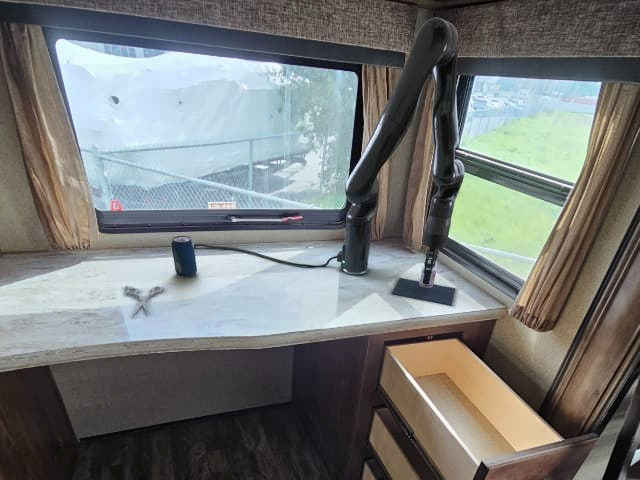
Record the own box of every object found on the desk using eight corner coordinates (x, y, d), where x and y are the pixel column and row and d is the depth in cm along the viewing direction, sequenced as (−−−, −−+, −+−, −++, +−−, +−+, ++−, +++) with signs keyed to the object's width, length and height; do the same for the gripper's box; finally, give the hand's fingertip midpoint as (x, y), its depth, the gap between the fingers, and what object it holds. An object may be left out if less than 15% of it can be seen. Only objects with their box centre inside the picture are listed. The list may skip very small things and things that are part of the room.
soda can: (199, 270, 149) (195, 235, 141) (194, 278, 143) (190, 242, 136) (179, 269, 148) (173, 234, 141) (173, 277, 143) (167, 241, 136)
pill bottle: (432, 288, 144) (438, 264, 139) (418, 286, 145) (423, 262, 140) (433, 283, 148) (438, 259, 143) (419, 281, 149) (424, 257, 144)
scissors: (162, 283, 136) (160, 312, 121) (162, 286, 137) (160, 315, 122) (125, 285, 133) (119, 315, 118) (126, 288, 134) (120, 318, 119)
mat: (391, 294, 144) (392, 292, 144) (399, 278, 155) (399, 277, 155) (451, 305, 141) (451, 304, 140) (455, 289, 151) (455, 288, 151)
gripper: (428, 222, 142) (418, 271, 152) (422, 234, 131) (412, 286, 141) (451, 225, 140) (440, 275, 150) (446, 238, 129) (435, 291, 139)
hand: (426, 280), depth 146 cm, fingers closed on pill bottle, 4 cm apart
